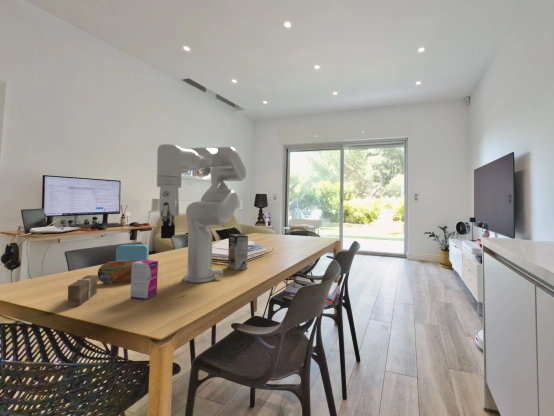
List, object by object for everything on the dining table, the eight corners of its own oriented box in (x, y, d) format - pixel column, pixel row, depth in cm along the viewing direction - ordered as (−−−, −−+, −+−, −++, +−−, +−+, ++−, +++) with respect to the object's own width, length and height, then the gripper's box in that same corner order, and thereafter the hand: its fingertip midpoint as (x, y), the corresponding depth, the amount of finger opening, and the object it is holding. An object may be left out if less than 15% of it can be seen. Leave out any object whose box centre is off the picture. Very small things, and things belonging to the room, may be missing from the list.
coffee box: (227, 266, 134) (228, 234, 134) (239, 265, 138) (240, 233, 138) (235, 270, 127) (236, 236, 127) (247, 269, 130) (248, 235, 130)
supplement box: (146, 300, 85) (146, 263, 85) (129, 298, 86) (130, 262, 86) (157, 294, 91) (158, 260, 91) (142, 292, 92) (142, 259, 92)
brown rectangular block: (97, 293, 91) (97, 274, 91) (80, 306, 79) (80, 284, 79) (86, 293, 90) (86, 274, 90) (67, 306, 78) (67, 285, 78)
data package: (148, 270, 122) (148, 244, 122) (146, 273, 118) (146, 245, 118) (118, 271, 119) (119, 244, 119) (115, 274, 115) (116, 246, 115)
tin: (97, 285, 99) (97, 262, 99) (98, 283, 102) (98, 260, 102) (143, 281, 106) (143, 259, 106) (142, 279, 109) (143, 258, 109)
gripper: (177, 181, 82) (176, 240, 82) (183, 185, 99) (182, 234, 99) (151, 180, 81) (150, 240, 81) (161, 184, 97) (160, 234, 98)
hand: (168, 236), depth 90 cm, fingers open, 5 cm apart
